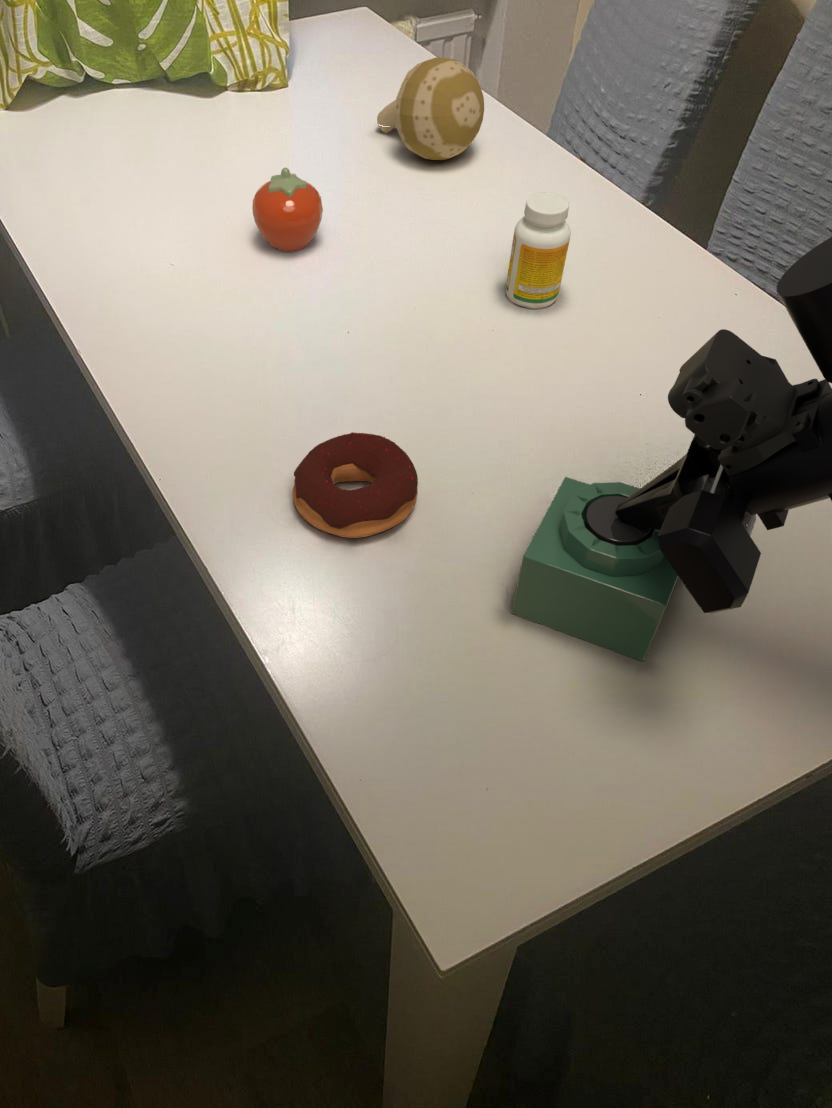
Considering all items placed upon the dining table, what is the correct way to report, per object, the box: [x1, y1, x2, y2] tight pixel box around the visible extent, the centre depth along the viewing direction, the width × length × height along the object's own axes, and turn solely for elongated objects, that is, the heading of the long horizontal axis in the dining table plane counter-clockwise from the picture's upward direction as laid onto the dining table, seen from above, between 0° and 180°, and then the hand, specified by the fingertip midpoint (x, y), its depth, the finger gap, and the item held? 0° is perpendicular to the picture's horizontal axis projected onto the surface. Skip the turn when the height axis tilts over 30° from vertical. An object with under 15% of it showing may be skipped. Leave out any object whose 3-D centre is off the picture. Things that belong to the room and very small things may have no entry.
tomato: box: [251, 167, 324, 253], centre depth 97 cm, size 7×7×8 cm
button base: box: [510, 476, 679, 662], centre depth 67 cm, size 10×9×8 cm
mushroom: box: [376, 56, 485, 161], centre depth 110 cm, size 10×11×15 cm
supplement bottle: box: [505, 191, 572, 309], centre depth 90 cm, size 5×5×10 cm
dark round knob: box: [584, 496, 651, 546], centre depth 64 cm, size 4×4×2 cm
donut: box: [292, 431, 419, 539], centre depth 74 cm, size 10×10×4 cm
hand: (619, 514), depth 63 cm, fingers closed, pressing on dark round knob
